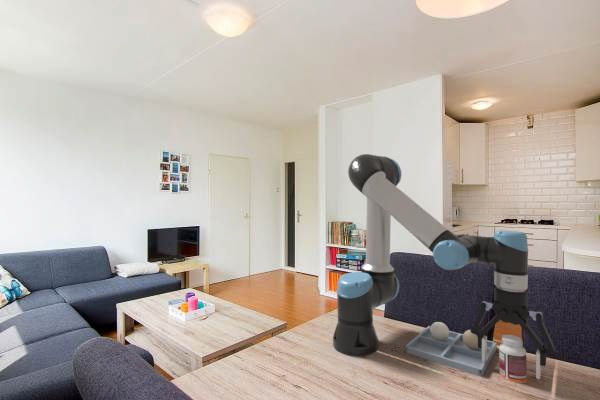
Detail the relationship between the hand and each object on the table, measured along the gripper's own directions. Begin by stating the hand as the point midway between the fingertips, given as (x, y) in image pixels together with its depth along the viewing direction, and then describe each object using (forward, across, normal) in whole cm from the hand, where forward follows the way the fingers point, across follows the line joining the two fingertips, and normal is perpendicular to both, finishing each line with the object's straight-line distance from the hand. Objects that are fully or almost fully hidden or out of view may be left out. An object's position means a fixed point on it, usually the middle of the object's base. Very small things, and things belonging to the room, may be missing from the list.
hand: (510, 368), depth 85 cm
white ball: (+2, -22, +10) cm, 24 cm away
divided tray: (+3, -16, +5) cm, 17 cm away
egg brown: (+2, -11, +10) cm, 15 cm away
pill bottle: (+3, +1, 0) cm, 3 cm away
